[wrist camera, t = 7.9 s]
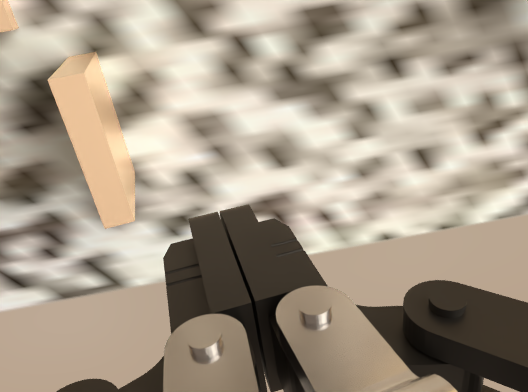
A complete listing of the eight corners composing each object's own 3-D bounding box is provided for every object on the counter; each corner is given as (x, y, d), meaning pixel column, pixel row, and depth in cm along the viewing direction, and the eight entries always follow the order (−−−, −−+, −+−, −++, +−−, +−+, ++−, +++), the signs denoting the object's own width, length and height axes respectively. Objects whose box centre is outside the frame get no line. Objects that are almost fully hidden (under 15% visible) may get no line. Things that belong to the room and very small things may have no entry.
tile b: (67, 57, 26) (46, 80, 20) (95, 51, 26) (83, 72, 20) (110, 178, 29) (103, 228, 23) (134, 172, 30) (134, 220, 24)
